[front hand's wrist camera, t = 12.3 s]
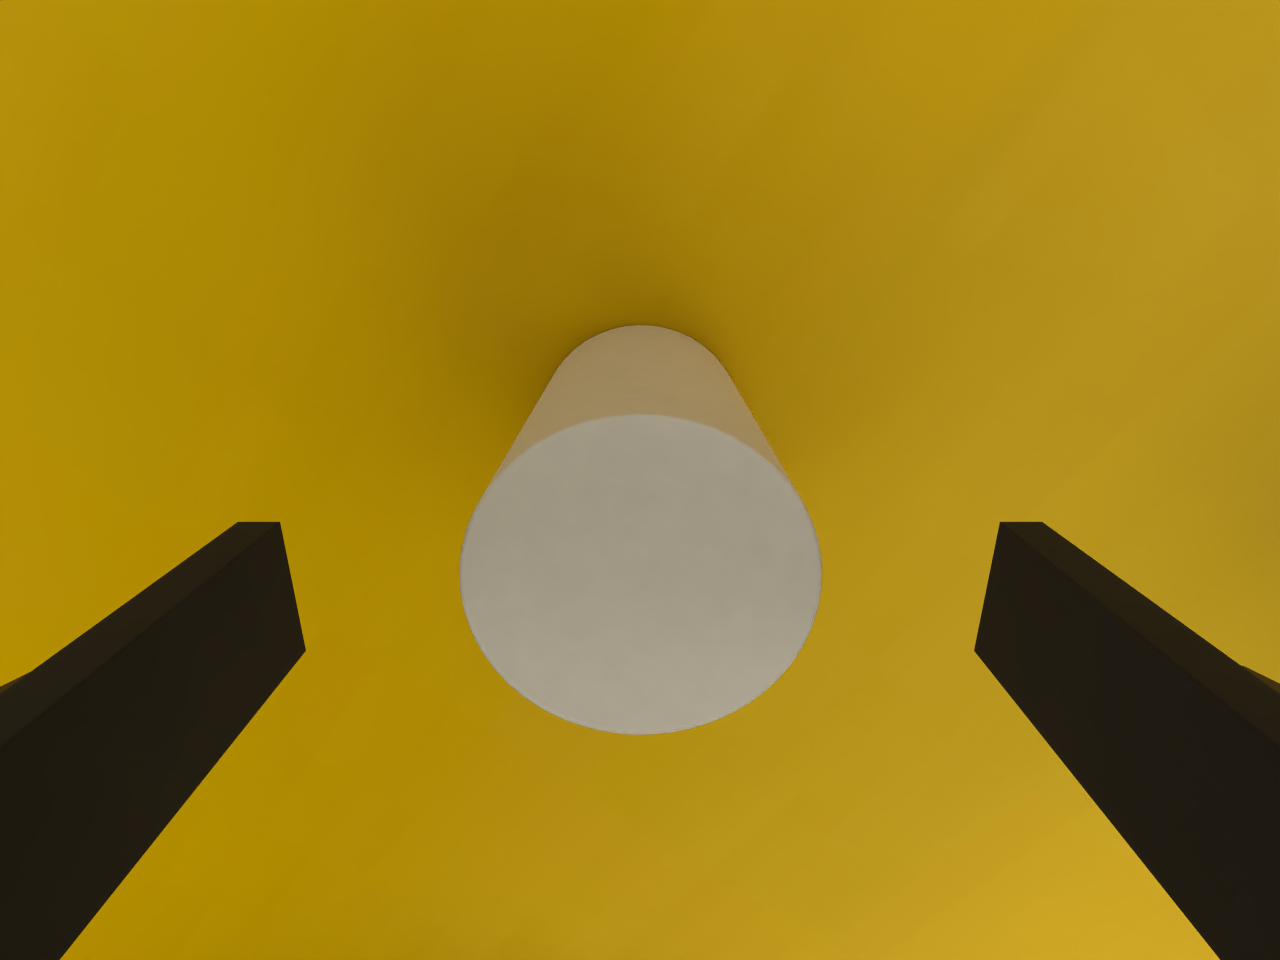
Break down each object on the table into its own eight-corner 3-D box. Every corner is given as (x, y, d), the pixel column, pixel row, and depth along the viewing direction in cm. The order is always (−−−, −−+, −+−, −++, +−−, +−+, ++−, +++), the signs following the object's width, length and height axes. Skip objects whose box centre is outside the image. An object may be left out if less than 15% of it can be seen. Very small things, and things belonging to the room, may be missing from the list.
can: (782, 422, 22) (899, 584, 12) (644, 552, 24) (646, 789, 14) (637, 279, 21) (632, 330, 11) (500, 429, 22) (384, 596, 12)
